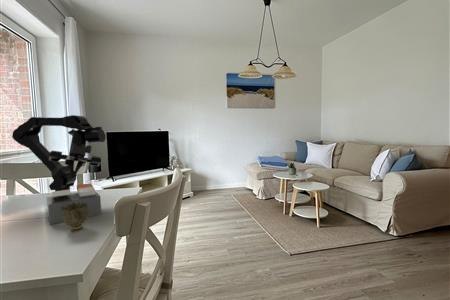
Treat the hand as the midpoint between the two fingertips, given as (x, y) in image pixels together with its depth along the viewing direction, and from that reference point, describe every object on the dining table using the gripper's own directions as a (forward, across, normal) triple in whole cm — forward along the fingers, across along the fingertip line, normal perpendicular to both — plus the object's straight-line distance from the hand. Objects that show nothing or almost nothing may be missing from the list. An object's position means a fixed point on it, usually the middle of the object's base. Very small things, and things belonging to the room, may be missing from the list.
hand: (72, 178), depth 102 cm
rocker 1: (+9, -3, -10) cm, 14 cm away
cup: (+22, +2, -21) cm, 31 cm away
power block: (+15, +2, -6) cm, 16 cm away
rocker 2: (+7, +4, -10) cm, 13 cm away
